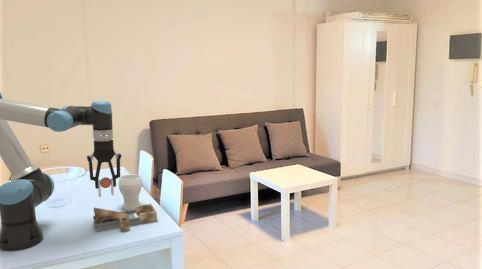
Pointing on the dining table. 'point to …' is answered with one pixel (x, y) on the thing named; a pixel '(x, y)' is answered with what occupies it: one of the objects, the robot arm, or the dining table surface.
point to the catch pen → (146, 213)
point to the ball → (105, 182)
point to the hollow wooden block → (124, 224)
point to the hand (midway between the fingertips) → (106, 194)
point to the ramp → (108, 215)
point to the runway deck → (117, 221)
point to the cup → (130, 190)
